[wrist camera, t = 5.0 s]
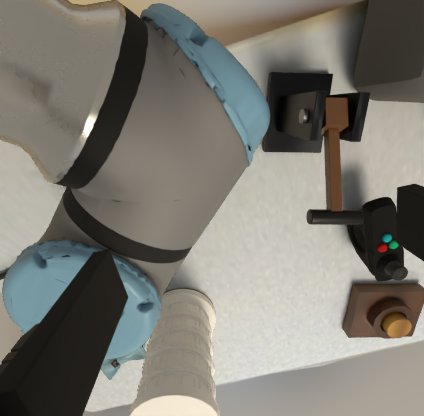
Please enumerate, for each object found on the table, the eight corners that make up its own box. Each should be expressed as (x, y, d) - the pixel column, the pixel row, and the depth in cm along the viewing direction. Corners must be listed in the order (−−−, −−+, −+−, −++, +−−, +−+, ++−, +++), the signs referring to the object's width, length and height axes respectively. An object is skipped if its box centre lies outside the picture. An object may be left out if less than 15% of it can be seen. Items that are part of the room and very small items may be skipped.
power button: (378, 330, 47) (384, 338, 45) (384, 311, 45) (390, 319, 44) (400, 330, 47) (408, 338, 45) (406, 311, 46) (414, 319, 44)
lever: (353, 224, 27) (367, 224, 25) (304, 224, 27) (314, 224, 25) (348, 109, 28) (361, 97, 26) (301, 108, 28) (310, 96, 26)
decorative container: (210, 284, 46) (216, 386, 29) (219, 335, 50) (229, 451, 33) (143, 293, 46) (111, 400, 29) (157, 344, 50) (136, 464, 33)
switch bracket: (317, 151, 39) (369, 170, 27) (262, 150, 39) (290, 169, 27) (329, 74, 36) (394, 58, 24) (269, 73, 35) (304, 55, 23)
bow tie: (94, 356, 52) (112, 373, 52) (90, 363, 50) (108, 381, 51) (132, 331, 49) (150, 350, 50) (129, 337, 48) (148, 357, 49)
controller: (347, 256, 46) (385, 295, 36) (336, 190, 41) (376, 214, 32) (373, 249, 45) (418, 286, 36) (364, 181, 41) (413, 203, 32)
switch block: (342, 328, 51) (353, 346, 47) (352, 284, 48) (366, 299, 44) (403, 327, 52) (419, 344, 48) (418, 283, 48) (437, 298, 44)
